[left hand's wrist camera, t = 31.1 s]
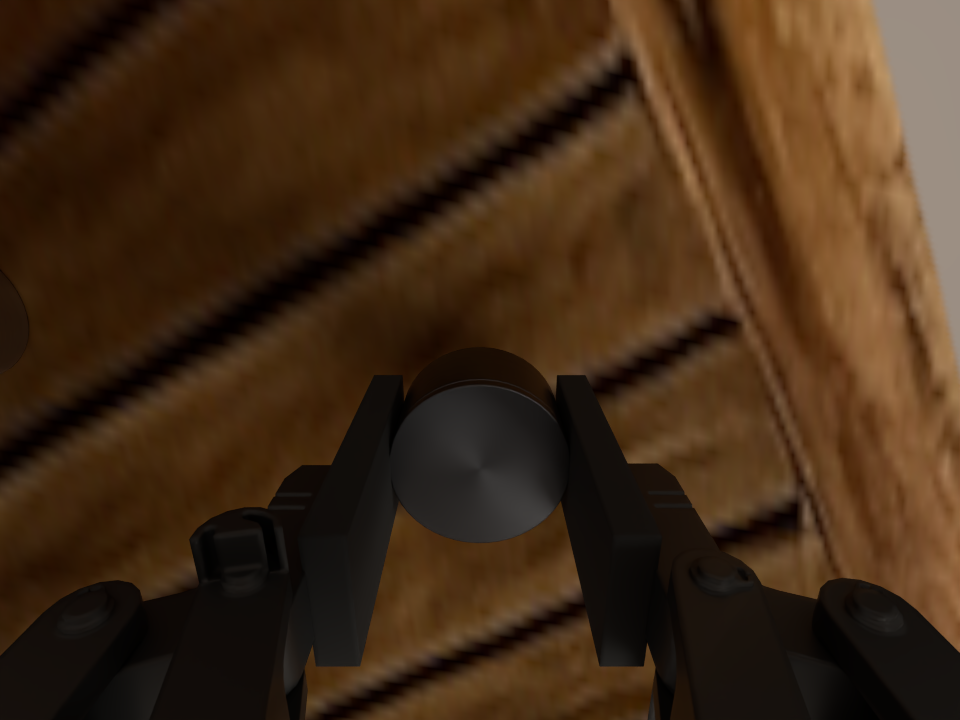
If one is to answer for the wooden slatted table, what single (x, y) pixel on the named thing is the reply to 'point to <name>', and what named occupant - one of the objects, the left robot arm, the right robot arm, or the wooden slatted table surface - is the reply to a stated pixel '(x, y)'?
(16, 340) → the bottle
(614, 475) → the left robot arm
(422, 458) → the cap
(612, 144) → the wooden slatted table surface
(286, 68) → the wooden slatted table surface
